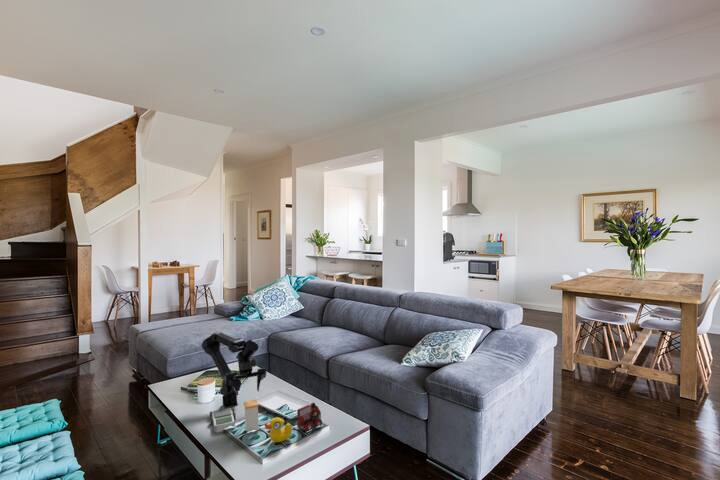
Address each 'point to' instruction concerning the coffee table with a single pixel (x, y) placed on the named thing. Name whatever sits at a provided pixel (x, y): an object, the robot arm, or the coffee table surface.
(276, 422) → the duckling
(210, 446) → the coffee table surface
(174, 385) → the coffee table surface
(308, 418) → the toy fire truck
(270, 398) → the tray
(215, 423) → the small digital clock
